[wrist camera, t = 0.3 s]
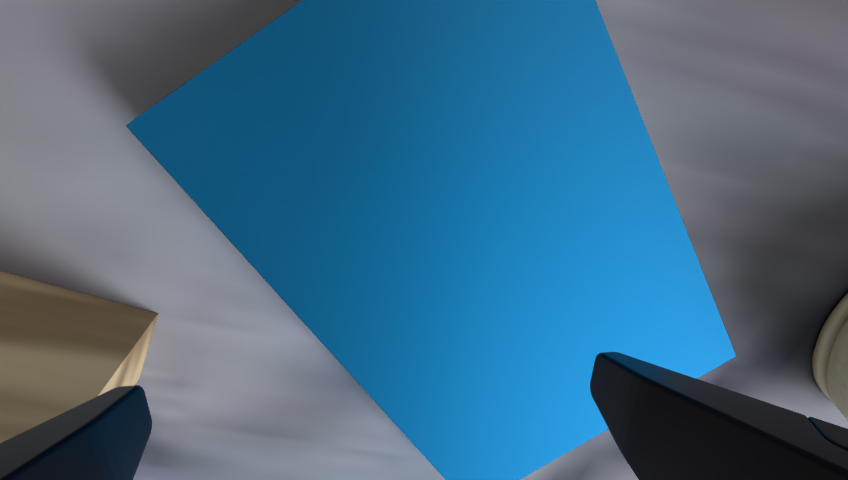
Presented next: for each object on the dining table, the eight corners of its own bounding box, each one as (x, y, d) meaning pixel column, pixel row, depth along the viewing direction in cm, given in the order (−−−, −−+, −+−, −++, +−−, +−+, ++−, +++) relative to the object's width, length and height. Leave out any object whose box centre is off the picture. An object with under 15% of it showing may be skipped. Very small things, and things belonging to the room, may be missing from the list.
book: (527, -171, 15) (746, 357, 24) (490, -123, 19) (691, 314, 28) (106, 137, 16) (466, 520, 26) (154, 121, 20) (451, 457, 30)
